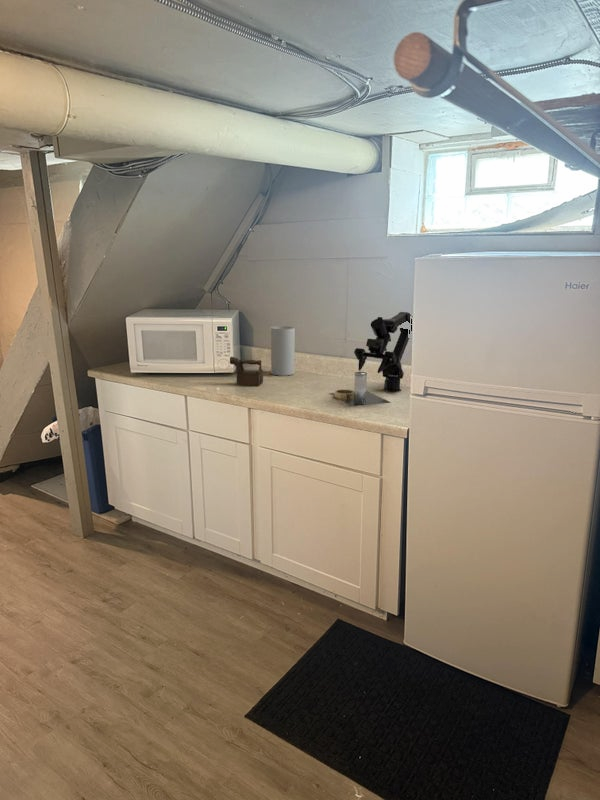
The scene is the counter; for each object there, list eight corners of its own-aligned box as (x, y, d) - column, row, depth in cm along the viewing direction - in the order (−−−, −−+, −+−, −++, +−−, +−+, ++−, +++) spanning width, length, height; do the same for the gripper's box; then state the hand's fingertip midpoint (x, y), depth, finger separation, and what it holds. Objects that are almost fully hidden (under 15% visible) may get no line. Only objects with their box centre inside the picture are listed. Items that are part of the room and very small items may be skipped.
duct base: (365, 392, 260) (366, 385, 259) (390, 404, 238) (391, 396, 237) (327, 395, 253) (328, 388, 253) (350, 408, 232) (350, 400, 231)
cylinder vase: (297, 372, 302) (298, 327, 296) (288, 377, 291) (288, 329, 285) (277, 370, 307) (277, 325, 301) (267, 375, 296) (267, 328, 290)
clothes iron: (234, 381, 280) (233, 355, 277) (264, 383, 277) (264, 356, 273) (228, 384, 273) (228, 357, 269) (259, 386, 269) (259, 359, 266)
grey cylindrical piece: (362, 400, 240) (363, 371, 237) (367, 403, 236) (369, 373, 232) (351, 401, 239) (352, 372, 235) (356, 404, 234) (357, 374, 231)
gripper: (356, 329, 245) (343, 358, 239) (395, 333, 235) (382, 362, 229) (364, 345, 253) (351, 373, 247) (402, 349, 243) (390, 378, 237)
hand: (368, 371), depth 240 cm, fingers open, 9 cm apart
